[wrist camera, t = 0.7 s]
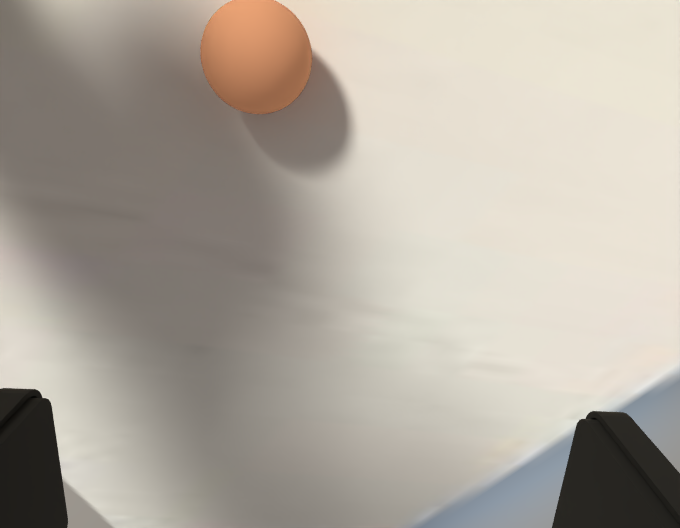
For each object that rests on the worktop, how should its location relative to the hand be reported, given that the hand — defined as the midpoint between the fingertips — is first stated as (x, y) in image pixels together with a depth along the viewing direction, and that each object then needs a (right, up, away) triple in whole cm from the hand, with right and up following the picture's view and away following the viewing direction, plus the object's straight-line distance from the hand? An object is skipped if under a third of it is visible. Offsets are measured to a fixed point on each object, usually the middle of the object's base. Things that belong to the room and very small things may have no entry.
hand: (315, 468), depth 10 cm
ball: (-4, +14, +18) cm, 23 cm away
